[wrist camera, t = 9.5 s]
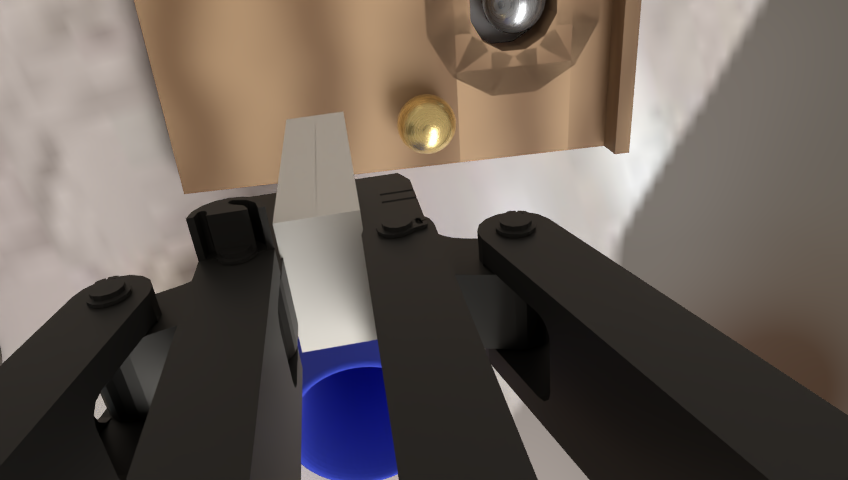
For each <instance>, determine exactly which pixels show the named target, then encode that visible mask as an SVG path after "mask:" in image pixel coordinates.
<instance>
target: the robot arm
mask: <svg viewBox="0 0 848 480" xmlns="http://www.w3.org/2000/svg"><path fill="white" fill-rule="evenodd" d="M186 221H187V224H188V227H189V231H190V234H191V237H192V241H193V244H194V247H195V251H196V254H197V257H198V261H199V262H198V265H197V268H196V271H195V274H194V277H193V280H192V281H191V282H189V283H186V284H184V285H181V286H178V287H176V288H173V289H169V290H166V291H163V292H160V293H157V294H155V292H154V289H153V286H152V283H151V281H150V279H148V278H146V277H143V276H136V275H127V276H120V277H119V276H113V277H109V278H108V279H107V280H106V278H105V279H102V280H99V281H97V282H95V284H93V285H91V286H89V287H87V288H85V289H83V290H82V291H80V292H79V293H78V294H76V295H75V296H73V297H72V298H71V299H70V300H69V301H68V302H67V303H66V304H65V305H64V306H63V307H62V308H61V309H59V310H58V311H57V312H56V313H55V314H54V315H53V316H52V317H51V318H50V319H49V320H48V321H47V322H46V323H45V324H44V325H43V326H42V327H41V328H40V329H38V330H37V331H36V332H35V333H34V334H33V335H32V336H31V337H30V338H29V339H28V340H27V341H26V342H25V343H24V344H23V345H22V346H21V347H20V348H19V349H17V350H16V351H15V352H14V353H13V354H12V355H11V356H10V357H9V358H8V359H7V360H6V361H5V362H4V363H3V364H2V354H1V348H0V480H301V438H302V378H303V367H302V363H301V359H300V355H299V350H298V336H299V340H300V345H301V349H302V353H303V352H308V351H314V350H320V349H325V348H331V347H337V346H343V345H348V344H354V343H360V342H366V341H371V340H378V346H379V353H380V359H381V366H382V372H383V379H384V385H385V392H386V398H387V405H388V411H389V418H390V424H391V431H392V438H393V444H394V451H395V457H396V464H397V470H398V477H399V480H538V479H537V477H536V474H535V472H534V469H533V467H532V464H531V462H530V460H529V457H528V455H527V452H526V450H525V447H524V445H523V442H522V440H521V437H520V435H519V432H518V430H517V427H516V425H515V422H514V420H513V417H512V415H511V413H510V410H509V408H508V405H507V403H506V400H505V398H504V395H503V393H502V390H501V388H500V385H499V383H498V380H497V378H496V375H495V373H494V370H493V368H492V366H493V367H494V368H495V370H496V371H497V372H498V373H499V374H500V375H501V377H502V378H503V379H504V380H505V381H506V382H507V384H508V385H509V386H510V387H511V388H512V389H513V391H514V392H515V393H516V394H517V395H518V396H519V398H520V399H521V400H522V401H523V402H524V403H525V405H526V406H527V407H528V408H529V409H530V411H531V412H532V413H533V414H534V415H535V416H536V418H537V419H538V420H539V421H540V422H541V423H542V425H543V426H544V427H545V428H546V429H547V430H548V432H549V433H550V434H551V435H552V436H553V437H554V438H555V440H556V441H557V442H558V443H559V444H560V446H561V447H562V448H563V449H564V450H565V452H566V453H567V454H568V455H569V456H570V457H571V459H572V460H573V461H574V462H575V463H576V464H577V466H578V467H579V468H580V469H581V470H582V471H583V473H584V474H585V475H586V476H587V477H588V479H589V480H848V415H847V414H845V413H843V412H842V411H840V410H839V409H838V408H836V407H834V406H833V405H831V404H830V403H828V402H827V401H825V400H824V399H822V398H821V397H819V396H818V395H816V394H815V393H813V392H812V391H810V390H809V389H807V388H806V387H804V386H802V385H801V384H799V383H798V382H796V381H795V380H793V379H792V378H790V377H789V376H787V375H786V374H784V373H783V372H781V371H780V370H778V369H777V368H775V367H773V366H772V365H770V364H769V363H768V362H766V361H764V360H763V359H761V358H760V357H758V356H757V355H755V354H754V353H752V352H751V351H749V350H748V349H746V348H745V347H743V346H742V345H740V344H738V343H737V342H736V341H734V340H732V339H731V338H729V337H728V336H726V335H725V334H723V333H722V332H720V331H719V330H717V329H716V328H714V327H713V326H711V325H710V324H708V323H707V322H705V321H704V320H702V319H701V318H699V317H698V316H696V315H694V314H693V313H691V312H690V311H688V310H687V309H685V308H684V307H682V306H681V305H679V304H677V303H676V302H675V301H673V300H672V299H670V298H669V297H667V296H665V295H664V294H663V293H661V292H659V291H658V290H656V289H655V288H653V287H652V286H650V285H649V284H647V283H646V282H644V281H643V280H641V279H640V278H638V277H637V276H635V275H633V274H632V273H631V272H629V271H628V270H626V269H624V268H623V267H621V266H620V265H618V264H617V263H615V262H614V261H612V260H611V259H609V258H608V257H606V256H605V255H603V254H602V253H600V252H599V251H597V250H596V249H594V248H593V247H591V246H589V245H588V244H586V243H585V242H583V241H582V240H580V239H579V238H577V237H576V236H574V235H573V234H571V233H570V232H568V231H567V230H565V229H564V228H562V227H561V226H559V225H558V224H556V223H554V222H553V221H551V220H550V219H548V218H546V217H544V216H541V215H539V214H534V213H528V212H526V211H517V212H516V211H508V212H506V213H503V214H497V215H495V216H492V217H490V218H487V219H486V220H484V221H483V222H482V223H481V224H480V225H479V227H478V231H477V233H478V239H463V238H451V237H446V236H442V235H440V234H438V232H437V230H436V227H435V225H434V223H433V222H432V221H431V220H430V219H429V218H427V217H424V215H423V213H422V210H421V208H420V205H419V202H418V200H417V198H416V195H415V192H414V190H413V187H412V184H411V182H410V180H409V179H407V178H406V177H404V176H402V175H400V174H398V173H395V174H388V175H382V176H375V177H368V178H362V179H355V178H354V172H353V166H352V160H351V154H350V148H349V142H348V136H347V130H346V124H345V119H344V113H343V112H337V113H330V114H323V115H315V116H308V117H301V118H294V119H287V120H286V127H285V134H284V142H283V149H282V156H281V164H280V171H279V179H278V186H277V193H273V194H267V195H260V196H253V197H235V198H227V199H223V200H218V201H214V202H212V203H209V204H206V205H203V206H201V207H199V208H198V209H196V210H194V211H193V212H191V213H190V215H189V216H188V217H187V218H186ZM491 365H492V366H491ZM100 393H101V396H102V398H103V400H104V403H105V405H106V407H107V409H106V410H105V412H104V413H103V414H102V416H101V417H100V418H99V419H98V420H97V419H96V418H95V417H94V409H95V402H96V400H97V398H98V396H99V394H100Z"/></svg>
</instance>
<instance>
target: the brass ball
mask: <svg viewBox="0 0 848 480" xmlns="http://www.w3.org/2000/svg"><path fill="white" fill-rule="evenodd" d="M397 128H398V133H399V136H400V138H401V140H402V141H403V143H404V144H405V145H406V146H407V147H408V148H410V149H411V150H413V151H415V152H418V153H421V154H432V153H436V152H438V151H440V150H442V149H444V148H445V147H446V146H447V145H448V144H449V143H450V141H451V140H452V138H453V136H454V134H455V130H456V118H455V114H454V112H453V110H452V108H451V107H450V105H449V104H448V103H447V102H446V101H445V100H443V99H442V98H440V97H438V96H435V95H431V94H422V95H418V96H415V97H413V98H411V99H410V100H409V101H407V102H406V103H405V104H404V106H403V107H402V109H401V110H400V113H399V115H398V120H397Z"/></svg>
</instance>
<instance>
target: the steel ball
mask: <svg viewBox="0 0 848 480" xmlns="http://www.w3.org/2000/svg"><path fill="white" fill-rule="evenodd" d="M544 6H545V0H483V9H484V12H485V15H486V17H487V19H488V20H489V22H490V23H491V24H492V25H493V26H494V27H496V28H497V29H499V30H501V31H504V32H508V33H517V32H521V31H524V30H526V29H528V28H530V27H531V26H532V25H534V24H535V23H536V22H537V20H538V19H539V18H540V16H541V14H542V12H543V10H544Z"/></svg>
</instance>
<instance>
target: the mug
mask: <svg viewBox="0 0 848 480" xmlns="http://www.w3.org/2000/svg"><path fill="white" fill-rule="evenodd" d="M298 350H299V355H300V359H301V363H302V367H303V378H302V438H301V464H302V465H303V466H304V467H306V468H307V469H309V470H310V471H312V472H314V473H315V474H317V475H319V476H322V477H324V478H327V479H331V480H383V479H386V478H389V477H392V476H395V475H397V474H398V470H397V464H396V457H395V451H394V444H393V438H392V431H391V424H390V418H389V411H388V405H387V398H386V392H385V385H384V379H383V372H382V366H381V359H380V353H379V346H378V340H371V341H366V342H360V343H354V344H348V345H343V346H337V347H331V348H325V349H320V350H314V351H308V352H303V353H302V349H301V345H300V340H299V337H298Z"/></svg>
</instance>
